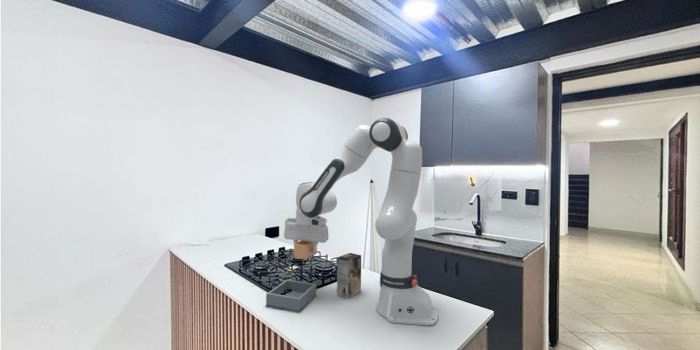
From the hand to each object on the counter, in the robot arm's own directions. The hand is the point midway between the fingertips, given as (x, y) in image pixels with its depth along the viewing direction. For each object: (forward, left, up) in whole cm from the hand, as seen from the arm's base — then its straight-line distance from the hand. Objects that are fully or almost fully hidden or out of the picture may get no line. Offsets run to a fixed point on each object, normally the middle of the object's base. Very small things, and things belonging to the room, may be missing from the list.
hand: (305, 250), depth 124 cm
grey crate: (0, +12, -17) cm, 21 cm away
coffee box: (-19, -2, -17) cm, 26 cm away
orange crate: (0, 0, -2) cm, 2 cm away
